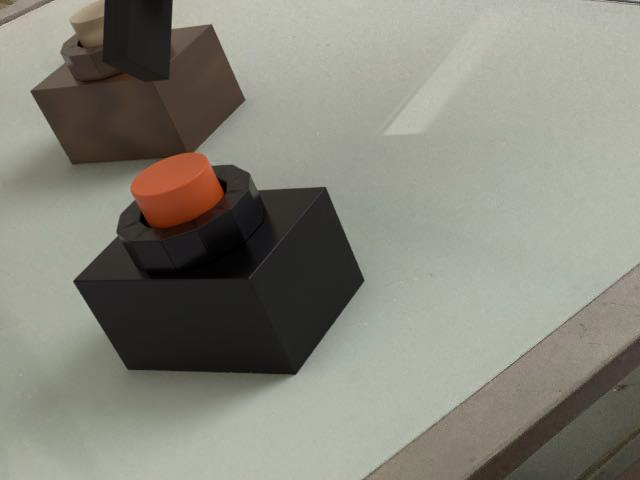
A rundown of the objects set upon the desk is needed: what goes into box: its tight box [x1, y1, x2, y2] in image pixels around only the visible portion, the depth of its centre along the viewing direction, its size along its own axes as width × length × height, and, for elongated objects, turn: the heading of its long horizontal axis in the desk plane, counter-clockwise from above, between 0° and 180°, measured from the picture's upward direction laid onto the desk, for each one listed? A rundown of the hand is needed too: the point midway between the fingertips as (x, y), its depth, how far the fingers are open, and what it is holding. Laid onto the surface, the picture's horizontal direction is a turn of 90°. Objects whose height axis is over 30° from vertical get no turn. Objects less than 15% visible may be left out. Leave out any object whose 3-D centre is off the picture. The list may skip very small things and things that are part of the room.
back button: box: [68, 0, 105, 48], centre depth 79 cm, size 4×4×2 cm
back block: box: [29, 23, 246, 165], centre depth 82 cm, size 11×8×8 cm
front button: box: [129, 152, 224, 228], centre depth 57 cm, size 4×4×2 cm
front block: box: [72, 163, 365, 376], centre depth 59 cm, size 11×8×8 cm
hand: (136, 70), depth 53 cm, fingers closed
